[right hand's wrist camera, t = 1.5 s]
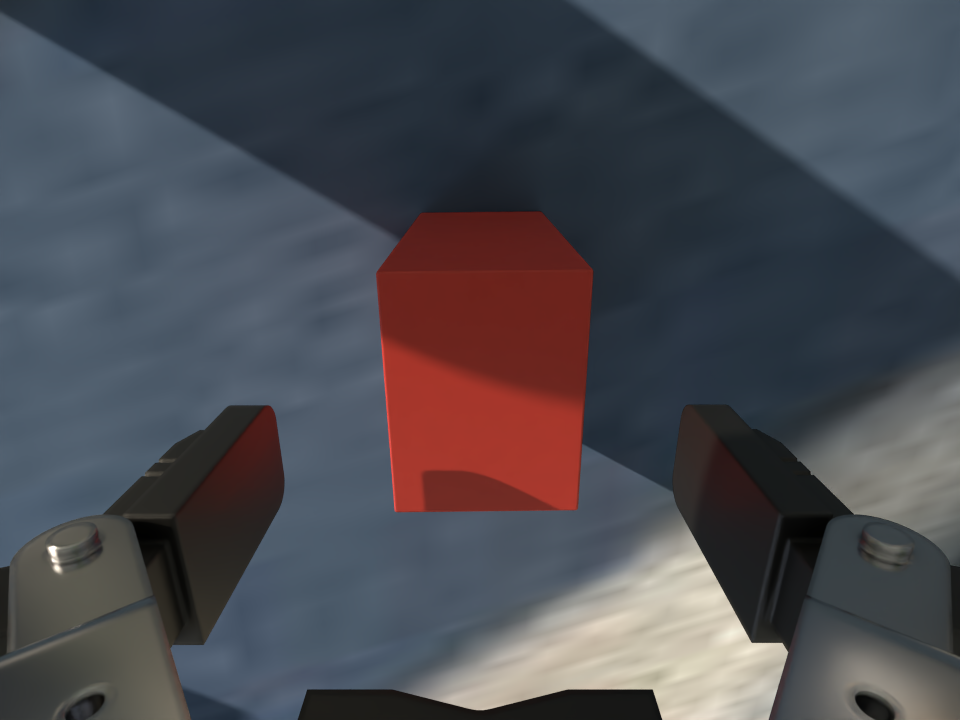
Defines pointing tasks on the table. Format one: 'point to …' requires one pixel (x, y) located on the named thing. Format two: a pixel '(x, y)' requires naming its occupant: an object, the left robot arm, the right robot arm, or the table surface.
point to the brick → (485, 363)
